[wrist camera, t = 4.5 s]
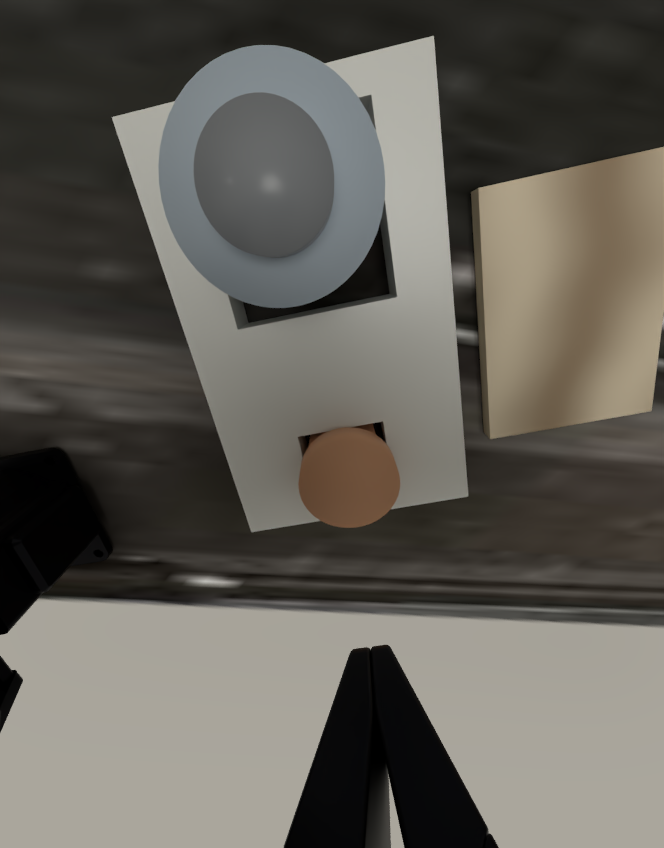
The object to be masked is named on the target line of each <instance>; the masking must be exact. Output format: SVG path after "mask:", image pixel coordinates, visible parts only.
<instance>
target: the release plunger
mask: <svg viewBox="0 0 664 848" xmlns="http://www.w3.org/2000/svg"><path fill="white" fill-rule="evenodd" d="M298 485H299V493H300V497H301V500H302V502H303V503H304V505H305V507H306V508H307V510H308V511H309V512H310V513H311V514H312V515H313V516H315V517H316V518H317V519H319V520H320V521H322V522H324V523H326V524H329V525H332V526H336V527H342V528H355V527H361V526H365V525H368V524H371V523H373V522H375V521H377V520H378V519H380V518H381V517H383V516H384V515H385V514H386V513H387V512H388V511H389V510H390V509H391V508H392V506H393V505H394V503H395V502H396V500H397V497H398V495H399V490H400V476H399V471H398V468H397V465H396V462H395V459H394V456H393V454H392V452H391V450H390V448H389V447H388V445H387V444H386V443H385V442H384V441H383V440H382V439H381V438H380V437H378V436H377V435H376V434H375V430H374V426H373V423H371V424H366V425H360V426H355V427H344V428H338V429H334V430H331V431H327V432H322V433H316V434H311V435H310V440H309V447H308V448H307V450H306V451H305V453H304V456H303V459H302V462H301V468H300V475H299V482H298Z"/></svg>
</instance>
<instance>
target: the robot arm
mask: <svg viewBox="0 0 664 848" xmlns="http://www.w3.org/2000/svg"><path fill="white" fill-rule="evenodd" d="M50 457H52V458H53V459H54V460H55V462H54V461H52V460H51V459H50ZM99 550H101V551H102V552H101V551H99ZM111 553H112V547H111V545H110V543H109V541H108V539H107V537H106V535H105V533H104V531H103V529H102V527H101V525H100V523H99V521H98V519H97V517H96V515H95V513H94V511H93V510H92V508H91V506H90V504H89V502H88V500H87V498H86V496H85V494H84V492H83V490H82V488H81V486H80V484H79V482H78V480H77V478H76V476H75V474H74V472H73V470H72V468H71V467H70V465H69V463H68V461H67V459H66V457H65V455H64V454H63V452H61V451H60V450H58V449H55V448H49V449H43V450H38V451H33V452H27V453H22V454H17V455H12V456H6V457H1V458H0V635H1V634H6V633H8V631H9V630H10V629H11V628H12V627H13V626H14V625H15V623H16V622H17V621H18V620H19V619H20V618H21V617H22V616H23V615H24V614H25V612H26V611H27V610H28V609H29V608H30V607H31V606H32V605H33V603H34V602H35V601H36V600H37V599H38V598H39V597H40V596H41V595H42V593H44V592H47V591H48V590H49V589H50V588H51V587H52V586H53V585H54V584H55V583H56V581H57V580H58V579H59V578H60V577H61V576H62V575H63V573H64V572H65V571H66V570H67V569H68V568H69V567H70V566H74V565H81V564H87V563H93V562H99V561H104V560H106V559H107V558H108V557H109V555H110V554H111ZM22 682H23V679H22V678H21V677H20V675H19V674H18V673H17V671H16V670H11V669H10V668H9V666H8V665H7V664H6V663H5V661H4V660H3V659H2V657H1V656H0V732H1V730H2V728H3V725H4V723H5V721H6V718H7V716H8V714H9V712H10V709H11V707H12V705H13V702H14V700H15V698H16V695H17V693H18V691H19V689H20V686H21V684H22ZM388 774H389V779H390V783H391V788H392V792H393V797H394V802H395V806H396V811H397V815H398V820H399V824H400V829H401V834H402V838H403V842H404V847H405V848H498V846H497V844H496V842H495V840H494V838H493V836H492V835H491V834H488V828H487V826H486V824H485V822H484V820H483V818H482V816H481V815H480V813H479V811H478V809H477V807H476V805H475V803H474V802H473V800H472V798H471V796H470V794H469V792H468V790H467V789H466V787H465V785H464V783H463V781H462V779H461V778H460V776H459V774H458V772H457V770H456V768H455V766H454V764H453V763H452V761H451V759H450V757H449V755H448V754H447V751H446V750H445V748H444V746H443V744H442V742H441V740H440V738H439V737H438V735H437V733H436V731H435V729H434V727H433V725H432V724H431V722H430V720H429V718H428V716H427V714H426V713H425V711H424V709H423V707H422V705H421V703H420V701H419V700H418V698H417V696H416V694H415V692H414V690H413V688H412V687H411V685H410V683H409V681H408V679H407V677H406V676H405V674H404V672H403V670H402V668H401V666H400V664H399V662H398V661H397V659H396V657H395V655H394V653H393V651H392V649H391V648H390V646H388V645H382V646H374V647H372V648H371V650H370V649H369V648H358V649H353V650H352V651H351V653H350V655H349V657H348V660H347V663H346V666H345V669H344V672H343V675H342V678H341V681H340V684H339V687H338V690H337V693H336V695H335V699H334V701H333V704H332V707H331V710H330V713H329V716H328V719H327V722H326V725H325V728H324V730H323V734H322V736H321V739H320V742H319V745H318V748H317V751H316V754H315V757H314V760H313V763H312V766H311V768H310V772H309V774H308V777H307V780H306V783H305V786H304V789H303V792H302V795H301V798H300V801H299V804H298V807H297V809H296V812H295V815H294V818H293V821H292V824H291V827H290V830H289V833H288V836H287V839H286V841H285V845H284V848H391V841H390V810H389V809H390V807H389V780H388Z"/></svg>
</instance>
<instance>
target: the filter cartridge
mask: <svg viewBox="0 0 664 848" xmlns="http://www.w3.org/2000/svg"><path fill="white" fill-rule="evenodd" d="M158 169H159V186H160V193H161V200H162V204H163V208H164V211H165V215H166V218H167V221H168V223H169V226H170V229H171V231H172V233H173V235H174V237H175V239H176V241H177V243H178V245H179V247H180V248H181V250H182V251H183V253H184V254H185V256H186V257H187V259H188V260H189V261H190V262H191V264H192V265H193V266H194V267H195V268H196V270H197V271H198V272H199V273H200V274H201V275H202V276H203V277H205V278H206V279H207V280H208V281H209V282H210V283H211V284H213V285H214V286H215V287H217V288H218V289H219V290H221V291H223V292H224V293H226V294H228V295H230V296H231V297H233V298H236V299H238V300H241V301H243V302H245V303H249V304H253V305H256V306H261V307H269V308H288V307H295V306H300V305H304V304H307V303H311V302H313V301H316V300H318V299H320V298H322V297H324V296H326V295H328V294H329V293H331V292H333V291H334V290H336V289H337V288H338V287H339V286H341V285H342V284H343V283H344V282H345V281H346V280H347V279H348V278H349V277H350V276H351V275H352V274H353V273H354V272H355V271H356V270H357V268H358V267H359V266H360V264H361V263H362V261H363V260H364V259H365V257H366V255H367V253H368V252H369V250H370V248H371V246H372V244H373V241H374V239H375V237H376V234H377V232H378V228H379V225H380V221H381V218H382V213H383V206H384V200H385V170H384V161H383V156H382V150H381V146H380V143H379V140H378V136H377V133H376V130H375V128H374V125H373V123H372V121H371V119H370V116H369V114H368V112H367V111H366V109H365V107H364V106H363V104H362V102H361V101H360V99H359V98H358V96H357V95H356V94H355V92H354V91H353V90H352V89H351V87H350V86H349V85H348V84H347V83H346V82H345V81H344V80H343V79H342V78H341V77H340V76H339V75H338V74H337V73H336V72H335V71H334V70H332V69H331V68H329V67H328V66H327V65H325V64H324V63H323V62H321V61H319V60H317V59H316V58H314V57H312V56H310V55H308V54H306V53H303V52H300V51H297V50H294V49H292V48H287V47H281V46H276V45H255V46H249V47H243V48H239V49H236V50H234V51H231V52H228V53H225V54H223V55H222V56H220V57H218V58H216V59H214V60H213V61H211V62H210V63H208V64H207V65H206V66H205V67H203V68H202V69H201V70H199V71H198V72H197V73H196V74H195V75H194V77H193V78H192V79H191V80H190V81H189V82H188V83H187V84H186V85H185V87H184V88H183V90H182V91H181V93H180V94H179V96H178V97H177V99H176V101H175V103H174V105H173V107H172V109H171V111H170V113H169V115H168V118H167V121H166V124H165V127H164V130H163V135H162V139H161V144H160V151H159V163H158Z"/></svg>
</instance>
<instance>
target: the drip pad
mask: <svg viewBox="0 0 664 848" xmlns="http://www.w3.org/2000/svg"><path fill="white" fill-rule="evenodd" d="M471 203H472V222H473V241H474V259H475V278H476V297H477V315H478V334H479V353H480V371H481V390H482V409H483V427H484V433H485V434H486V435H487V436H488V437H489V438H490V439H494V438H500V437H506V436H512V435H517V434H523V433H529V432H535V431H540V430H546V429H552V428H557V427H563V426H569V425H575V424H580V423H586V422H592V421H597V420H603V419H609V418H615V417H620V416H626V415H632V414H637V413H643V412H649V411H652V403H653V395H654V387H655V378H656V370H657V362H658V354H659V346H660V338H661V329H662V321H663V313H664V147H661V148H656V149H652V150H647V151H643V152H638V153H634V154H629V155H625V156H620V157H616V158H611V159H607V160H602V161H598V162H593V163H589V164H584V165H580V166H575V167H571V168H566V169H562V170H557V171H553V172H548V173H544V174H539V175H535V176H530V177H526V178H521V179H517V180H512V181H508V182H503V183H499V184H494V185H490V186H485V187H481V188H478V189H476V190H474V191H472V192H471Z"/></svg>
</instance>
